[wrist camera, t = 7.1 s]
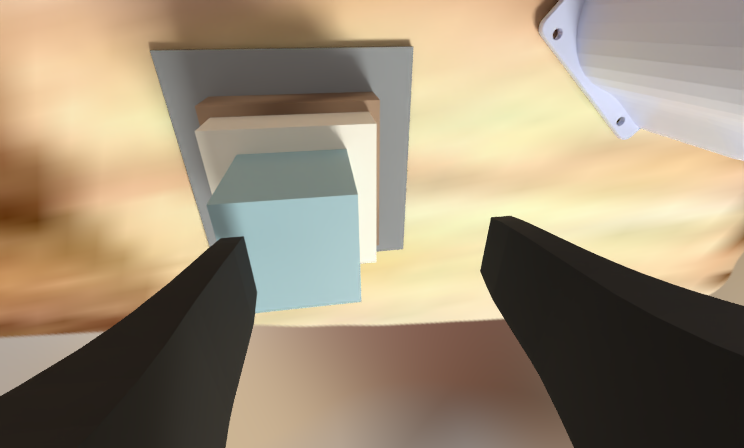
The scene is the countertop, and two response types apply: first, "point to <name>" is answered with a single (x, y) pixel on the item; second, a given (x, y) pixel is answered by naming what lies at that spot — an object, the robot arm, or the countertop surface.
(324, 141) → the cream slab
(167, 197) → the countertop surface
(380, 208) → the slate mat
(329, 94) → the walnut slab
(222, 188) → the teal cube
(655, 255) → the countertop surface
